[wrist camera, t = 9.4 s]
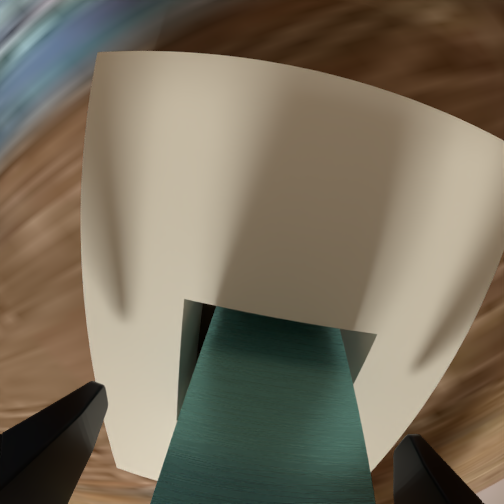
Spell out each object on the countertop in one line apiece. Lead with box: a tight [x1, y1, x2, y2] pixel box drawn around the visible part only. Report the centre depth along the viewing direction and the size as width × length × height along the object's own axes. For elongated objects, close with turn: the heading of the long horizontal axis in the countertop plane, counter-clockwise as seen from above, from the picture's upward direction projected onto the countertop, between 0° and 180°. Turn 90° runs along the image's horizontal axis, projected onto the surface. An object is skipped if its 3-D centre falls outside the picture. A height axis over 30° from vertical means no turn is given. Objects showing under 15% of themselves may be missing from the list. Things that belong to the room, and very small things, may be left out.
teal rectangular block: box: [150, 306, 375, 504], centre depth 8 cm, size 4×4×10 cm
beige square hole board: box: [81, 51, 504, 481], centre depth 11 cm, size 12×18×4 cm, turn 170°
